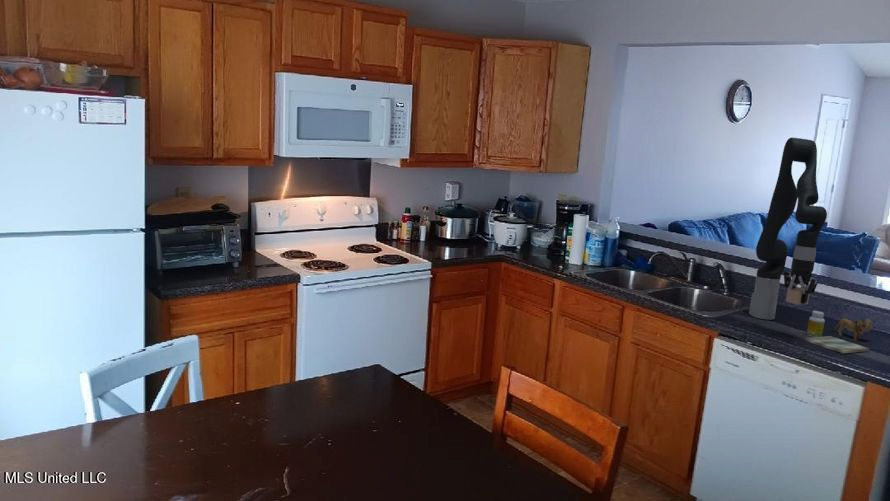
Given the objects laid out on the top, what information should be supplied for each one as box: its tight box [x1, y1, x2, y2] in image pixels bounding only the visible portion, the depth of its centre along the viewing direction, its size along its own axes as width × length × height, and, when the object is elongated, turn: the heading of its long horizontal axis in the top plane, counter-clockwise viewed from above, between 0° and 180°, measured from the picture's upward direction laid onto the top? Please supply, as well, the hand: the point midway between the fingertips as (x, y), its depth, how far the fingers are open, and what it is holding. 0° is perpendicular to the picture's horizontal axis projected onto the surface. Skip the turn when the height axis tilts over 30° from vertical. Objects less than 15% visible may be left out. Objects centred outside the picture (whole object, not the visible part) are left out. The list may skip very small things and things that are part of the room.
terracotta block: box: [785, 287, 810, 306], centre depth 272 cm, size 5×6×5 cm
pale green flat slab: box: [804, 335, 870, 354], centre depth 266 cm, size 16×14×1 cm
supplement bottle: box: [806, 310, 826, 338], centre depth 277 cm, size 5×5×10 cm
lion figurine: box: [830, 317, 874, 341], centre depth 280 cm, size 15×5×9 cm, turn 34°
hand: (796, 301), depth 273 cm, fingers closed on terracotta block, 5 cm apart
